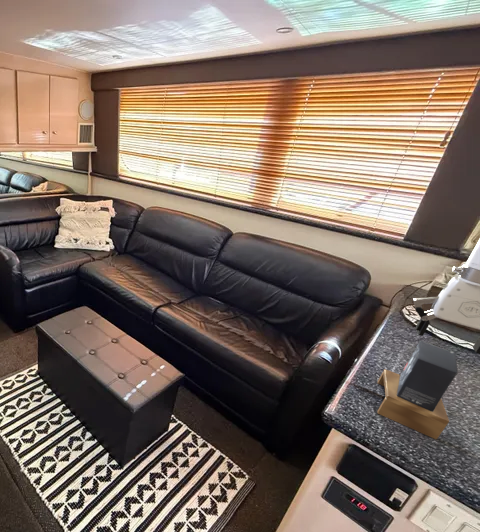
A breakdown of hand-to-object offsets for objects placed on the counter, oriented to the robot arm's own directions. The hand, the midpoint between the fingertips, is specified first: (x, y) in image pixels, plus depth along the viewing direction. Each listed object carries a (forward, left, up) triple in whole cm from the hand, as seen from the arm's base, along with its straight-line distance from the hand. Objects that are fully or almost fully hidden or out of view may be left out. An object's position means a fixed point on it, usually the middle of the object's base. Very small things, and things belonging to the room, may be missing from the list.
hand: (446, 341), depth 77 cm
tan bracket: (0, 0, -22) cm, 22 cm away
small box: (0, 0, -16) cm, 16 cm away
